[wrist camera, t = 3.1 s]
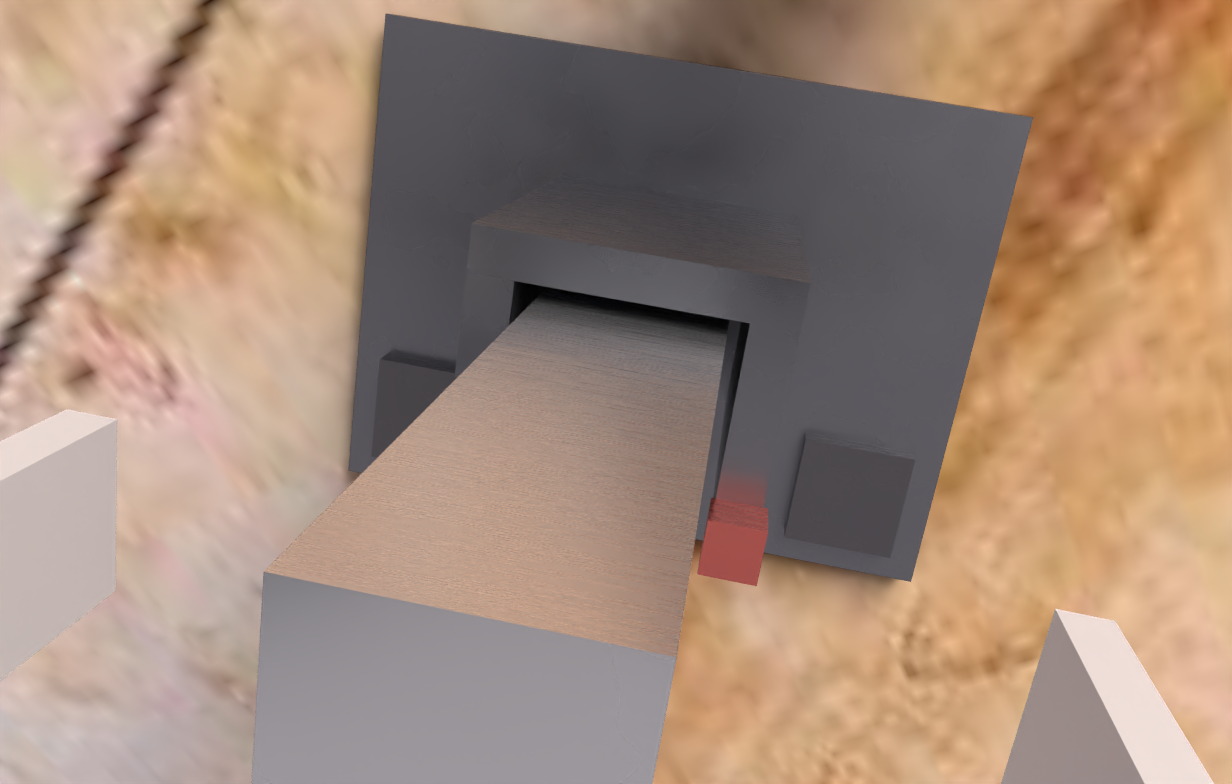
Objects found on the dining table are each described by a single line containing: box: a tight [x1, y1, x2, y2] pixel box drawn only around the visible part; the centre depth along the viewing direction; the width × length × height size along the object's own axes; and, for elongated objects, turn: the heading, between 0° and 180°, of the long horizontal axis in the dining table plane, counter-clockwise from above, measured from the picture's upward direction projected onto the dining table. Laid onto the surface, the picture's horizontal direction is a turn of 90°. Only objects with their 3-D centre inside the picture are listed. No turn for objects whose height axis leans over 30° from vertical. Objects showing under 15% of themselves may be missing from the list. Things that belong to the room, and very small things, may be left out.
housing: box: [349, 14, 1033, 586], centre depth 27 cm, size 18×14×12 cm
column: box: [252, 287, 729, 784], centre depth 21 cm, size 4×5×22 cm
